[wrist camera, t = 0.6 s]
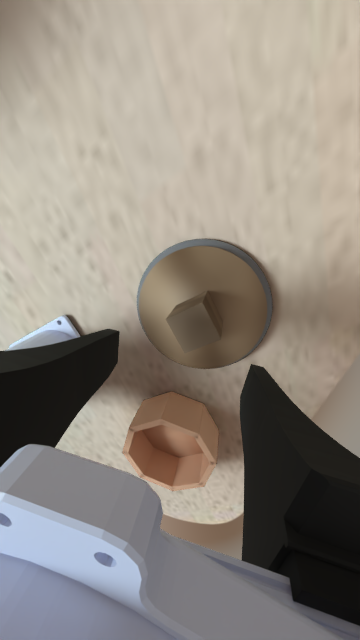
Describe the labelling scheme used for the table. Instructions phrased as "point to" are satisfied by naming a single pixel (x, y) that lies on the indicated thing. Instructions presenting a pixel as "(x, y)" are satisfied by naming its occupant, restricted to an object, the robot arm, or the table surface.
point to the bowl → (173, 442)
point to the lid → (203, 307)
